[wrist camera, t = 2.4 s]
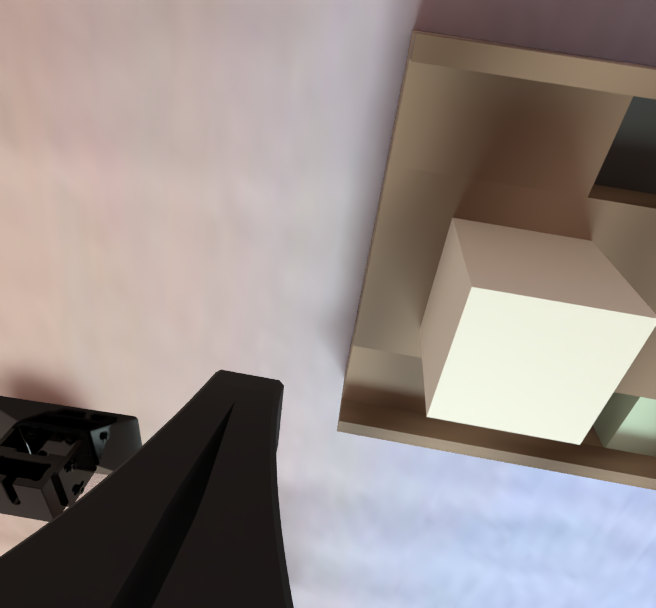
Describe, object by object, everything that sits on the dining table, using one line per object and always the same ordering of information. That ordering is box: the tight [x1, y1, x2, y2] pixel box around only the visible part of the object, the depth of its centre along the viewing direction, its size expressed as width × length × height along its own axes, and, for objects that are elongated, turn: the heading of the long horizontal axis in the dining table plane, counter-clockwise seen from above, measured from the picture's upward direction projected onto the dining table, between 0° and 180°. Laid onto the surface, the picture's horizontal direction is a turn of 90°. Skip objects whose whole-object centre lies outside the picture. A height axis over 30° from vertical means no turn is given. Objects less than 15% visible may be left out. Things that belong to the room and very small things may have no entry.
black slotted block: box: [0, 396, 142, 522], centre depth 25 cm, size 12×7×5 cm, turn 85°
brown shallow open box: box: [337, 30, 656, 490], centre depth 16 cm, size 18×14×3 cm
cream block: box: [420, 218, 656, 445], centre depth 14 cm, size 4×4×4 cm
